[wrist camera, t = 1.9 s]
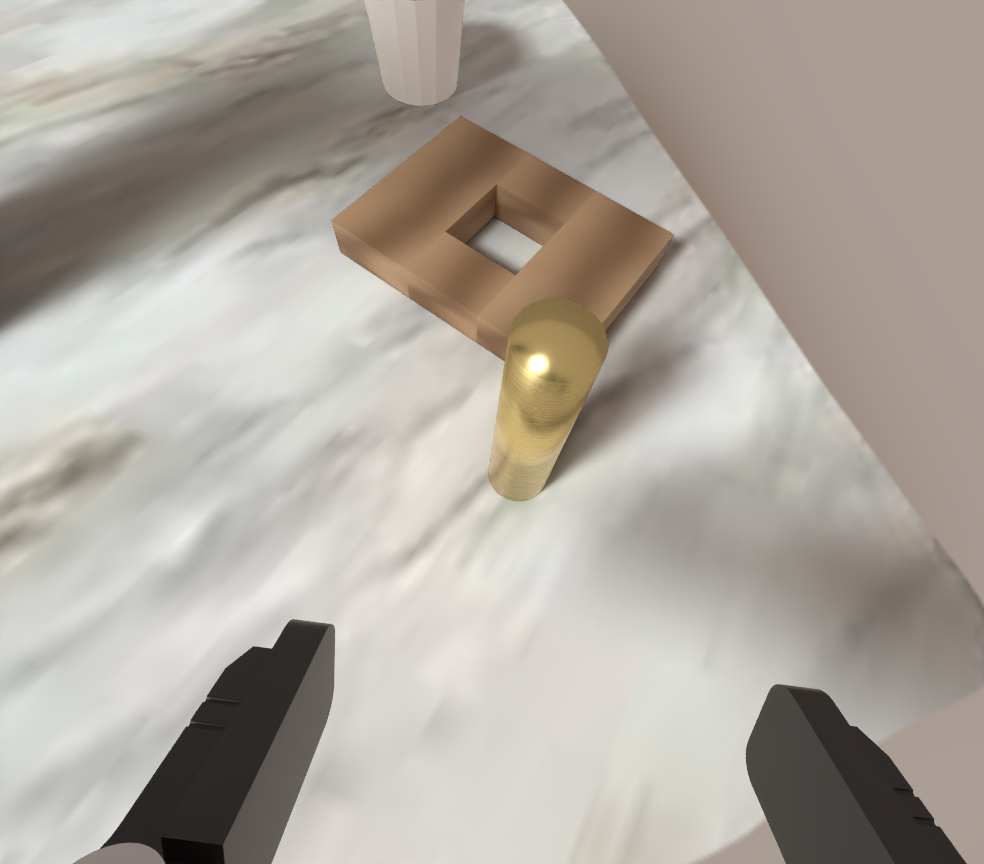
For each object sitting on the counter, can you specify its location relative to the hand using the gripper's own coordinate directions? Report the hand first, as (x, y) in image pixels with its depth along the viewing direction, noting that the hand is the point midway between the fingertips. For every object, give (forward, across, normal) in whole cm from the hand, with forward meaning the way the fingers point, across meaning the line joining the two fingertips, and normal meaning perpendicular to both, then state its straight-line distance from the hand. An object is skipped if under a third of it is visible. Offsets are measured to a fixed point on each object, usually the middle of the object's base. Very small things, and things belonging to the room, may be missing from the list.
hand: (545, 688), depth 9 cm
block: (+27, +2, -6) cm, 27 cm away
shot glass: (+38, +10, -18) cm, 43 cm away
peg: (+17, 0, +4) cm, 17 cm away
